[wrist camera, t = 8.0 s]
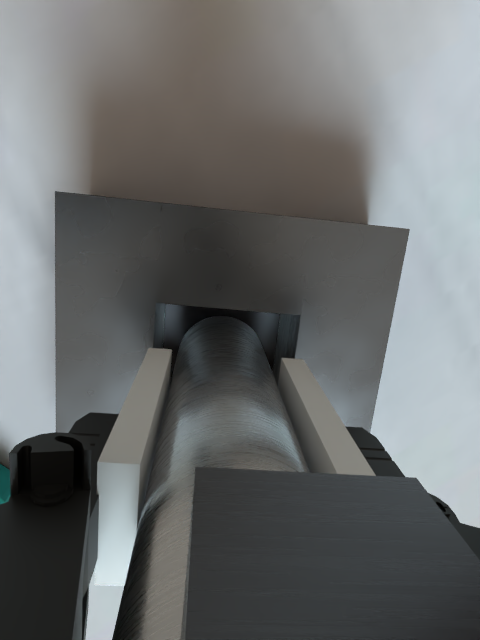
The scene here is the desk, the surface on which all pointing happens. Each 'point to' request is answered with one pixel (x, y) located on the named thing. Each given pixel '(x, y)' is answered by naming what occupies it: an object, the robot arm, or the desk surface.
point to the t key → (279, 524)
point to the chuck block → (217, 293)
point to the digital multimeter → (4, 484)
